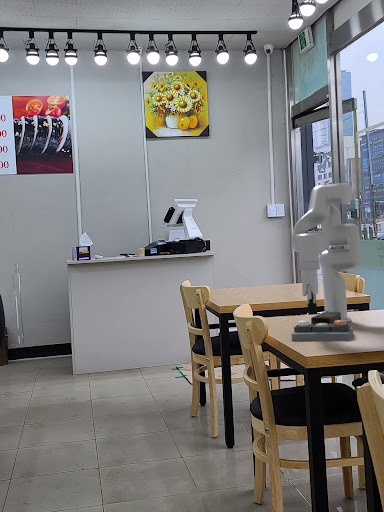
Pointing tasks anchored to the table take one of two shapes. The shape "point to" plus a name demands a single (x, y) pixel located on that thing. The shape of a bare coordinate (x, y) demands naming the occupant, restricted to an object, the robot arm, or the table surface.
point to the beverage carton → (326, 318)
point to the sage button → (321, 324)
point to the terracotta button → (340, 323)
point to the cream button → (303, 324)
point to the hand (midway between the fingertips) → (312, 313)
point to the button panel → (322, 332)
